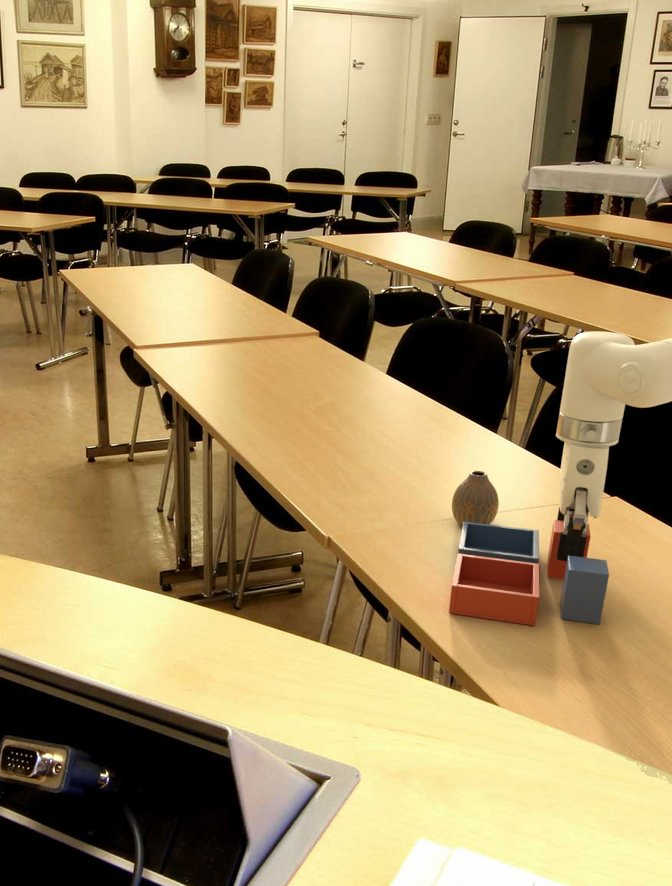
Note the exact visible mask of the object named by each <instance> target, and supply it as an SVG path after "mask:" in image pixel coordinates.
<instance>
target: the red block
mask: <svg viewBox="0 0 672 886" xmlns="http://www.w3.org/2000/svg"><path fill="white" fill-rule="evenodd" d="M552 522H553V523H552V529H551V535H550V541H549V548H548V554H547V561H546V577H547V578H554V579H562V580H564V577H565V571H566V565H567V561H560V560H557V551H558V545H559V539H560V533H561V532H563V528H564V521H559V520H557V519H553V521H552ZM586 535H587V540H586V545H585V551H584V556H583V557H584V558H588V553H589V547H590V541H591V538H592V537H591V530H590V524H589V523H587V532H586Z"/></svg>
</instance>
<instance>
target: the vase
mask: <svg viewBox="0 0 672 886" xmlns="http://www.w3.org/2000/svg"><path fill="white" fill-rule="evenodd" d="M499 504H500V501H499V495H498V492H497V489H496V488H495V487H494V485H493V484H492V482H491V481H490V479H489V476H488V474H487V472H485V471H481V470H472V471H471V472H469V475H468V476H467V477H466V478H465V479H464V480H463V481H462V482H461V483H460V484H458V486H457V487H456V489H455V491H454V493H453V496H452V499H451V511H452V516H453V518H454V520H455V522H456V523H457V524H458V525H459V526H460V527H462V528H463V522H473V523H481V524H490V525H492V523H493V522H494V521H495V519H496V517H497V514H498V511H499Z"/></svg>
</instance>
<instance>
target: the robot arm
mask: <svg viewBox="0 0 672 886" xmlns="http://www.w3.org/2000/svg"><path fill="white" fill-rule="evenodd" d="M567 355H568V356H567V362H566V368H565V374H564V375H565V376H564V382H563V388H562V395H561V400H560V407H559V413H558V420H557V427H556V433H555V437H556V438H557V439H559V440H560V441H561V442H564V444H563V449H562V456H561V464H560V470H559V471H560V472H559V481H558V500H559V501H558V502H559V507H558V512H557V518H556V520H559V521H564V528H563V532H561V533H560V539H559V545H558V551H557V560H560V561H567V559H568V556H576V557H583V556H584V551H585V545H586V540H587V535H586V532H587V524H589V523H588V522H589V517H593V519H598V518H599V517H601V510H602V504H603V496H604V490H605V484H606V477H607V471H608V463H609V453H610V451H609V450H610V447H612V446H615V445H617V444H618V443H619V439H620V433H621V429H622V425H623V424H622V423H623V418H624V412H625V409H626V405H627V406H630V407H634V408H641V409H644V408H652V407H657V406H659V405H663V404H667V403H670V402H672V337H671V338H666V339H661V340H658V341H652V342H648V343H647V342H646V343H642V344H635V341H634V340H633V338H631V337H630V336H628V335H626V334H623V333H619V332H612V331H586V332H581V333H579V334H577V335H575V336H574V337H573V338H572V340H571V342H570V346H569V350H568V354H567Z"/></svg>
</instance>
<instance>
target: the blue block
mask: <svg viewBox="0 0 672 886" xmlns="http://www.w3.org/2000/svg"><path fill="white" fill-rule="evenodd" d="M608 566H609V565H608V560H606V559H600V558H591V557H587V558H584V557H576V556H568V559H567V565H566V571H565V577H564V579H563V585H562V590H561V596H560V601H559V606H560V607H559V608H560V619H561V620H565V621H571V622H572V621H573V622H577V623H578V622H579V623H586V624H593V625H601V620H602V615H603V611H604V610H603V609H604V605H605V599H606V594H607V589H608V584H609V578H610V573H609V567H608Z"/></svg>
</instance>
